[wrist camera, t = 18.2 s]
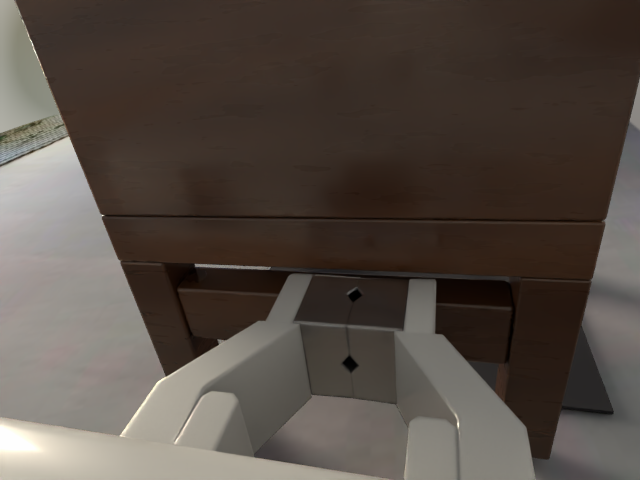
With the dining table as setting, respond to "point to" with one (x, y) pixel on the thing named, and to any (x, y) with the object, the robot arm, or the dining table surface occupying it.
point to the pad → (582, 382)
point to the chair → (354, 159)
